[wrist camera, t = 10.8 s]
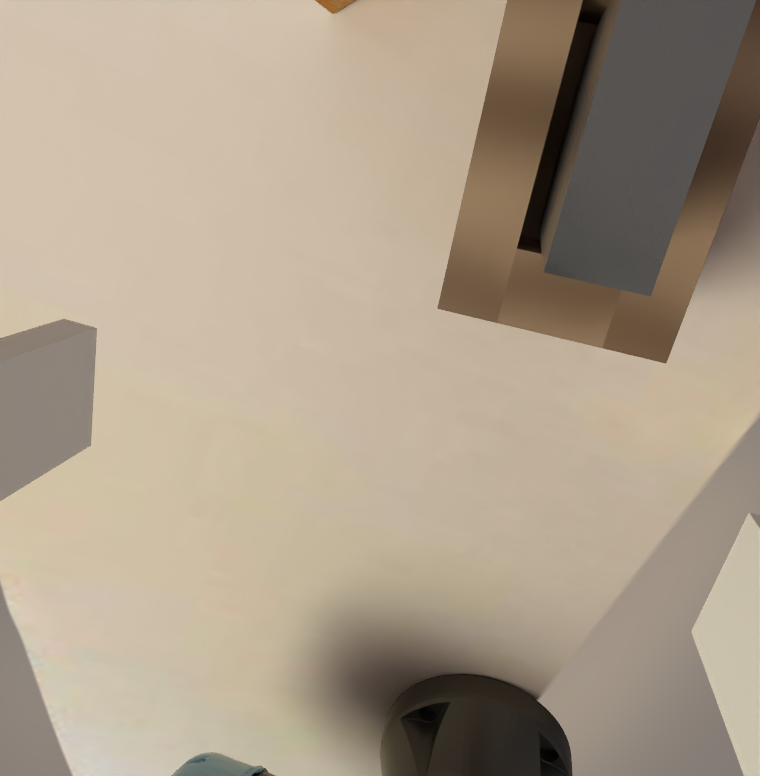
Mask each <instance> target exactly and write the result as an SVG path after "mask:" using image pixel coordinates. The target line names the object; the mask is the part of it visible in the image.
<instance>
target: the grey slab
mask: <svg viewBox="0 0 760 776" xmlns="http://www.w3.org/2000/svg"><path fill="white" fill-rule="evenodd" d="M755 2H756V0H610V1H609V3H608V6H607V8H606V10H605V12H604V14H603V16H602V18H601V20H600V22H599V24H598V26H597V28H596V30H595V32H594V34H593V36H592V38H591V41H590V43H589V46H588V50H587V53H586V57H585V61H584V64H583V68H582V71H581V75H580V79H579V82H578V86H577V90H576V93H575V97H574V101H573V104H572V108H571V111H570V115H569V119H568V122H567V126H566V130H565V133H564V137H563V140H562V144H561V148H560V151H559V155H558V159H557V162H556V166H555V169H554V173H553V177H552V180H551V184H550V188H549V191H548V195H547V199H546V202H545V206H544V209H543V213H542V217H541V220H540V224H539V229H540V240H541V251H542V261H543V272H544V273H548V274H553V275H557V276H562V277H566V278H570V279H575V280H579V281H584V282H588V283H593V284H597V285H601V286H606V287H610V288H615V289H619V290H623V291H628V292H632V293H637V294H641V295H646V296H650V297H651V294H652V292H653V289H654V286H655V283H656V280H657V277H658V275H659V272H660V269H661V266H662V263H663V261H664V258H665V255H666V252H667V249H668V247H669V244H670V241H671V238H672V235H673V233H674V230H675V227H676V224H677V221H678V218H679V216H680V213H681V210H682V207H683V204H684V202H685V199H686V196H687V193H688V190H689V188H690V185H691V182H692V179H693V176H694V173H695V171H696V168H697V165H698V162H699V159H700V157H701V154H702V151H703V148H704V145H705V143H706V140H707V137H708V134H709V131H710V129H711V126H712V123H713V120H714V117H715V114H716V112H717V109H718V106H719V103H720V100H721V98H722V95H723V92H724V89H725V86H726V84H727V81H728V78H729V75H730V72H731V70H732V67H733V64H734V61H735V58H736V55H737V53H738V50H739V47H740V44H741V41H742V39H743V36H744V33H745V30H746V27H747V25H748V22H749V19H750V16H751V13H752V11H753V8H754V5H755Z"/></svg>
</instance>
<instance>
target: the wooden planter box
mask: <svg viewBox="0 0 760 776" xmlns="http://www.w3.org/2000/svg"><path fill="white" fill-rule="evenodd" d="M609 1H610V0H507V5H506V9H505V13H504V18H503V22H502V27H501V31H500V35H499V40H498V44H497V49H496V53H495V57H494V62H493V66H492V71H491V75H490V79H489V84H488V88H487V93H486V97H485V102H484V106H483V110H482V115H481V119H480V124H479V128H478V132H477V137H476V141H475V146H474V150H473V154H472V159H471V163H470V168H469V172H468V177H467V181H466V185H465V190H464V194H463V199H462V203H461V207H460V212H459V216H458V221H457V225H456V229H455V234H454V238H453V243H452V247H451V251H450V256H449V260H448V265H447V269H446V274H445V278H444V282H443V287H442V291H441V296H440V300H439V304H438V309H441V310H446V311H450V312H454V313H458V314H462V315H466V316H471V317H475V318H479V319H483V320H487V321H492V322H496V323H500V324H504V325H508V326H512V327H517V328H521V329H525V330H529V331H533V332H537V333H542V334H546V335H550V336H554V337H558V338H562V339H567V340H571V341H575V342H579V343H583V344H587V345H592V346H596V347H600V348H604V349H608V350H612V351H617V352H621V353H625V354H629V355H633V356H637V357H642V358H646V359H650V360H654V361H658V362H662V363H666V362H667V360H668V357H669V355H670V352H671V349H672V347H673V344H674V341H675V339H676V336H677V334H678V331H679V328H680V326H681V323H682V320H683V318H684V315H685V313H686V310H687V307H688V305H689V302H690V299H691V297H692V294H693V292H694V289H695V286H696V284H697V281H698V278H699V276H700V273H701V271H702V268H703V265H704V263H705V260H706V257H707V255H708V252H709V250H710V247H711V244H712V242H713V239H714V236H715V234H716V231H717V229H718V226H719V223H720V221H721V218H722V215H723V213H724V210H725V208H726V205H727V202H728V200H729V197H730V194H731V192H732V189H733V187H734V184H735V181H736V179H737V176H738V173H739V171H740V168H741V166H742V163H743V160H744V158H745V155H746V152H747V150H748V147H749V145H750V142H751V139H752V137H753V134H754V131H755V129H756V126H757V124H758V121H759V118H760V0H756V2H755V5H754V8H753V11H752V13H751V16H750V19H749V22H748V25H747V27H746V30H745V33H744V36H743V39H742V41H741V44H740V47H739V50H738V53H737V55H736V58H735V61H734V64H733V67H732V70H731V72H730V75H729V78H728V81H727V84H726V86H725V89H724V92H723V95H722V98H721V100H720V103H719V106H718V109H717V112H716V114H715V117H714V120H713V123H712V126H711V129H710V131H709V134H708V137H707V140H706V143H705V145H704V148H703V151H702V154H701V157H700V159H699V162H698V165H697V168H696V171H695V173H694V176H693V179H692V182H691V185H690V188H689V190H688V193H687V196H686V199H685V202H684V204H683V207H682V210H681V213H680V216H679V218H678V221H677V224H676V227H675V230H674V233H673V235H672V238H671V241H670V244H669V247H668V249H667V252H666V255H665V258H664V261H663V263H662V266H661V269H660V272H659V275H658V277H657V280H656V283H655V286H654V289H653V292H652V294H651V297H650V296H646V295H641V294H637V293H632V292H628V291H623V290H619V289H615V288H610V287H606V286H601V285H597V284H593V283H588V282H584V281H579V280H575V279H570V278H566V277H562V276H557V275H553V274H548V273H544V272H543V261H542V251H541V240H540V229H539V224H540V220H541V217H542V213H543V209H544V206H545V202H546V199H547V195H548V191H549V188H550V184H551V180H552V177H553V173H554V169H555V166H556V162H557V159H558V155H559V151H560V148H561V144H562V140H563V137H564V133H565V130H566V126H567V122H568V119H569V115H570V111H571V108H572V104H573V101H574V97H575V93H576V90H577V86H578V82H579V79H580V75H581V71H582V68H583V64H584V61H585V57H586V53H587V50H588V46H589V43H590V41H591V38H592V36H593V34H594V32H595V30H596V28H597V26H598V24H599V22H600V20H601V18H602V16H603V14H604V12H605V10H606V8H607V6H608V3H609Z"/></svg>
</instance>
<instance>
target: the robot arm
mask: <svg viewBox="0 0 760 776" xmlns="http://www.w3.org/2000/svg"><path fill="white" fill-rule="evenodd" d="M96 334H97V328H94V327H91V326H87V325H84V324H80V323H77V322H73V321H69V320H66V319H62V320H59V321H56V322H52V323H49V324H46V325H43V326H39V327H36V328H33V329H29V330H26V331H23V332H20V333H16V334H13V335H10V336H6V337H3V338H0V501H1V500H3V499H4V498H6V497H7V496H9V495H11V494H12V493H14V492H16V491H17V490H19V489H21V488H22V487H24V486H25V485H27V484H29V483H30V482H32V481H34V480H35V479H37V478H38V477H40V476H42V475H43V474H45V473H47V472H48V471H50V470H51V469H53V468H55V467H56V466H58V465H60V464H61V463H63V462H64V461H66V460H68V459H69V458H71V457H73V456H74V455H76V454H77V453H79V452H81V451H82V450H84V449H86V448H87V447H89V446H91V431H92V412H93V393H94V373H95V354H96ZM691 632H692V635H693V638H694V640H695V643H696V646H697V649H698V651H699V654H700V657H701V660H702V662H703V665H704V668H705V671H706V673H707V676H708V679H709V681H710V684H711V687H712V690H713V692H714V695H715V697H716V701H717V703H718V706H719V709H720V712H721V714H722V717H723V720H724V722H725V725H726V728H727V731H728V733H729V736H730V739H731V742H732V744H733V747H734V750H735V753H736V755H737V758H738V761H739V763H740V766H741V769H742V772H743V774H744V776H760V515H756V514H753V513H749V514H748V516H747V518H746V520H745V522H744V524H743V526H742V528H741V531H740V533H739V534H738V537H737V539H736V541H735V543H734V545H733V547H732V549H731V551H730V553H729V555H728V557H727V559H726V561H725V563H724V565H723V567H722V569H721V572H720V574H719V576H718V578H717V580H716V582H715V584H714V586H713V588H712V590H711V592H710V594H709V596H708V599H707V600H706V602H705V604H704V607H703V608H702V611H701V613H700V615H699V617H698V619H697V621H696V623H695V625H694V627H693V629H692V631H691ZM381 767H382V776H572V762H571V751H570V747H569V743H568V740H567V737H566V735H565V733H564V731H563V729H562V728H561V726H560V724H559V723H558V722H557V720H556V719H555V718H554V717H553V715H551V713H550V712H549V711H548V710H547V709H546V708H545V707H544V706H542V705H541V704H540V703H539V702H538V701H536V700H535V699H534V698H532V697H531V696H529V695H528V694H526V693H524V692H523V691H521V690H519V689H517V688H515V687H513V686H510V685H508V684H506V683H503V682H500V681H497V680H493V679H490V678H485V677H480V676H472V675H447V676H440V677H436V678H432V679H428V680H426V681H423V682H421V683H418V684H416V685H415V686H413V687H411V688H410V689H408V690H407V691H406V692H404V693H403V694H402V695H401V696H400V697H399V698H398V699H397V700H396V702H395V703H394V705H393V706H392V708H391V710H390V712H389V714H388V717H387V721H386V725H385V729H384V733H383V737H382V741H381ZM172 776H274V775H272V774H270V773H268V771H267V770H266V768H263V767H262V766H255V767H254V766H251V765H248V764H245V763H242V762H240V761H237V760H234V759H232V758H229V757H227V756H224V755H222V754H219V753H212V752H211V753H203V754H200V755H197V756H195V757H193V758H192V759H190V760H189V761H187V762H186V763H185V764H184V765H182V766H181V767H180V768H179V769H178V770H177V771H176V772H175V773H174V774H173V775H172Z"/></svg>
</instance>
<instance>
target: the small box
mask: <svg viewBox="0 0 760 776" xmlns="http://www.w3.org/2000/svg"><path fill="white" fill-rule="evenodd" d="M315 1H316V2H318V3H319V4H320V5H321V6H323V7H324V8H326V9H327V10H328V11H329V12H331V13H333V14H334V13H336V12H338V11H339V10H341V9H342V8H344V7H345V6H347V5H349V4H350V3H352V2H354V1H355V0H315Z"/></svg>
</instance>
